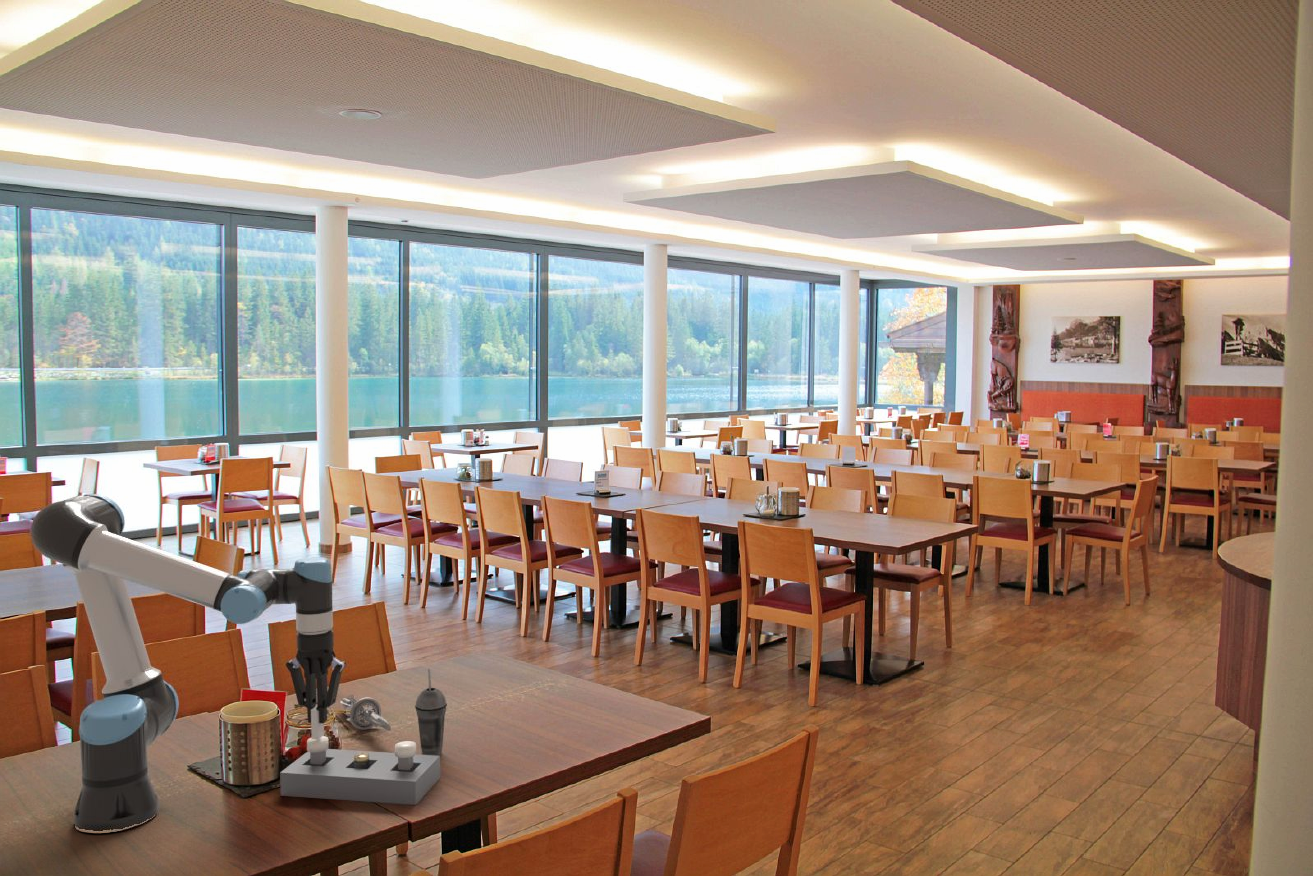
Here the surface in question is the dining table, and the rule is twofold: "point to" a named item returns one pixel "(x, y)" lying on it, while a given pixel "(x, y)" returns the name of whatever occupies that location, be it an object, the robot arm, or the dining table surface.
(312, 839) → the dining table surface
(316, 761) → the left knob
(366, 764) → the pot knob
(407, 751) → the right knob
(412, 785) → the console
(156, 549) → the robot arm
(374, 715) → the spaceship
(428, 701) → the beverage cup
